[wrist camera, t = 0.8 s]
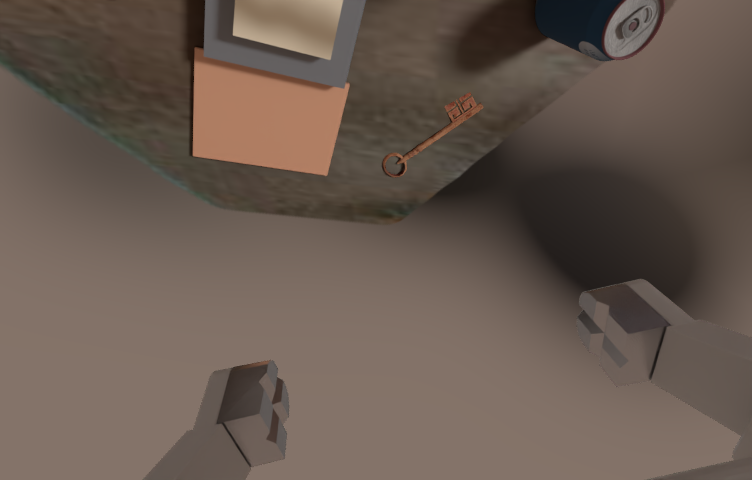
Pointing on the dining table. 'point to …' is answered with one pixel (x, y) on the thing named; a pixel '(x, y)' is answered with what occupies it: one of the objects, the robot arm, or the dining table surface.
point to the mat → (264, 117)
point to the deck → (276, 58)
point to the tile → (290, 24)
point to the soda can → (601, 25)
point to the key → (442, 132)
